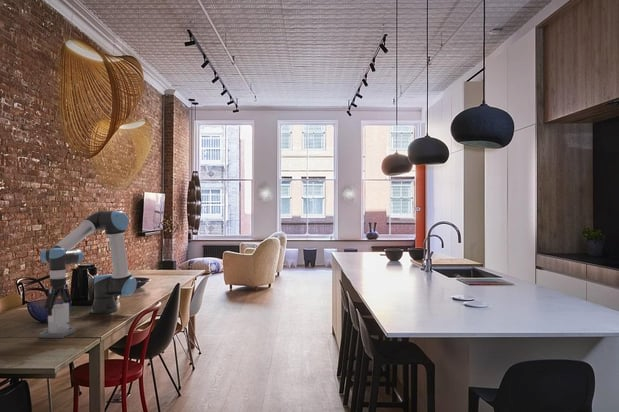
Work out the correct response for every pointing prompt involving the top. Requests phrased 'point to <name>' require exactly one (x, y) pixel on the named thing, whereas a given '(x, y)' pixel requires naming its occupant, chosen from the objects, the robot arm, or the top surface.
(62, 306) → the skincare box
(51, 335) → the tray
